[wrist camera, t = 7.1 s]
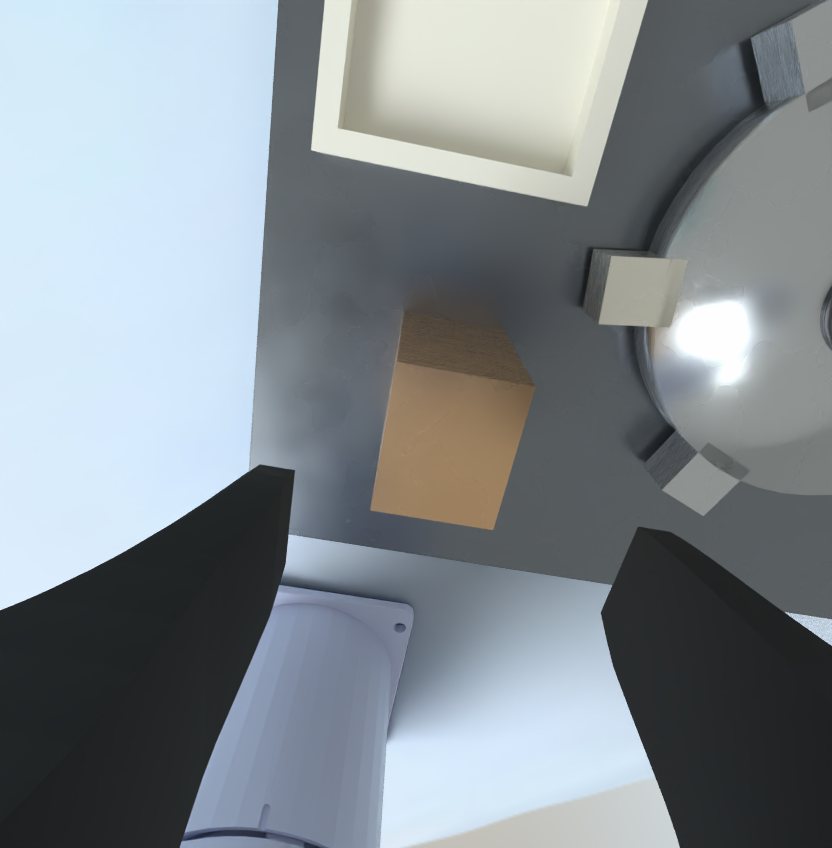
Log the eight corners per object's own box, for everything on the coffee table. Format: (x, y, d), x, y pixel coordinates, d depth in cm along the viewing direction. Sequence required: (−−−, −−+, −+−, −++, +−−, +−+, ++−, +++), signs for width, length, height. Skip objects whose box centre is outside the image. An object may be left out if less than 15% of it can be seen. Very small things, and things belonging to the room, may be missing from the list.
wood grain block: (475, 443, 18) (493, 530, 14) (383, 427, 18) (370, 510, 14) (504, 330, 17) (535, 386, 12) (404, 312, 16) (396, 361, 12)
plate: (831, 606, 22) (845, 621, 21) (251, 515, 21) (245, 527, 20) (1213, 31, 14) (1257, 22, 13) (300, -195, 12) (292, -220, 12)
